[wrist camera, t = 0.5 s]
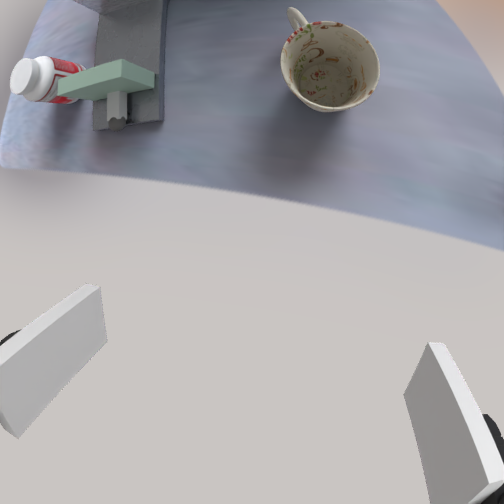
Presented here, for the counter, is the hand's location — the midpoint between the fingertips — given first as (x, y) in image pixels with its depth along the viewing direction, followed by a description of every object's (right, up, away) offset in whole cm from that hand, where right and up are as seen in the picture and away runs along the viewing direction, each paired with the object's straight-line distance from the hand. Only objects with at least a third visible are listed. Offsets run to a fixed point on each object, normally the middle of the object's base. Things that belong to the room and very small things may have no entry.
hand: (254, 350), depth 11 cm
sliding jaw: (-16, +22, +22) cm, 35 cm away
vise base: (-16, +29, +21) cm, 40 cm away
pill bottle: (-26, +28, +24) cm, 45 cm away
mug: (+7, +24, +19) cm, 31 cm away
